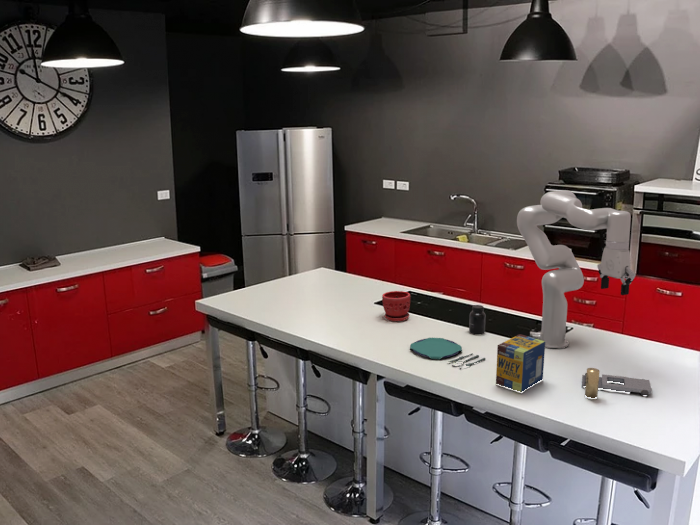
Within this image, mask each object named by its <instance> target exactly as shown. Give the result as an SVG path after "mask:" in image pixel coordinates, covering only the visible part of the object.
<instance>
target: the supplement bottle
mask: <svg viewBox="0 0 700 525" xmlns="http://www.w3.org/2000/svg"><path fill="white" fill-rule="evenodd" d="M484 309H485V308H484V305H480V304H474V305H472V310H471V311H470V313H469V324H468V325H469V326H468V332H469V333H470V334H472V335H475V334H481V335H483V334H485V332H486V318H487V317H486V313H485V312H484Z"/></svg>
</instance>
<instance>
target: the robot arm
mask: <svg viewBox="0 0 700 525" xmlns="http://www.w3.org/2000/svg"><path fill="white" fill-rule="evenodd" d="M539 202H540V204H537V205H536V204H535V205H529V206H528V205H527V206H526V207H523V208H521V209H520V210H519V212H518V213H517V217H516V225H517V228H518V232H519V233H520V235H521V236H522V238H523V239H524V241H525V243H526V245H527V247H528V248H529V252H530V253H531V255H532V258H533V259H534V261H535V265H537V267H538V268H539V269H540V270H543V271H544V270H545V271H546V270H547V271H548V270H549V271H548V272H546V273H544V275H543V276H542V279H541V288H542V302H543V303H542V314H541V316H542V318H541V330H540V331H538V332H536V331H530V332H529V337H532V338H535V339H539V340H542V341H545V349H550V348H562V349H565V348H564V347H566V348H567V346H568V347H569V345H570V344H569V341H568V339H566V330H567V316H568V301H567V298H566V297H565V296H566V295H565V293H568V292H572V291H577V290H579V289H581V288H583V285H584V282H585V279H584V274H583V272H582V269H581V268H580V265H579V263H578V261H577V259H576V258H575V255H574V253H573V252H572V250H571V249H570V248H569V247H568V246H567V245H564V244H557V245H556V244H555V245H553V244H551V241H550V240H549V239H548V236H547V235H546V233H545V232H544V231H543V230H541V229H540V228H539V227H538V226H543V225H551V224H555V223H557V222H558V221H560V220H561V219H562V218H564V219H566V220H567V222H568V223H569V224H570V225H571V226H574V227H576V228H578V229H582V230H585V231H597V230H605V229H606V238H605V239H606V240H605V247H604V248H603V250H602V251H603V252H602V256H601V261H600V263H598V264H597V265H596V267H597V269H598V270H597V271H598V273H599V278H600V289H601V290H605V289H606V290H607V289H609V287H610V286H609V285H610V278H613V279H620V282H621V284H620V296H627V295H628V296H629V294H630V285H631V284H632V282H633V281H634V279H635V277H636V273H635V272H634V271H633V270H632V269H631V253H630V250H629V249H630V235H631V234H630V233H631V232H630V231H631V219H632V218H631V216H632V215H631V213H630V212H629V211H627V210H617V209H614V208H610V207H602V208H594V209H592V208H591V209H587V208H583V204H582V201H581V200H580V199H579V198H577V196H576V195H575V193H573V192H572V191H571V190H568V189H567V190H566V189H565V190H563V189H562V190H555V191H548V192H546V193H545V194H543V195H542V196H541V198H540V201H539Z"/></svg>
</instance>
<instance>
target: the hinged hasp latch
mask: <svg viewBox="0 0 700 525" xmlns="http://www.w3.org/2000/svg"><path fill="white" fill-rule="evenodd" d="M586 375H587V372H585V373H584V374H582V376H581V377H582V378H581V387H582V386H586ZM607 381H613V382H620V383H624V385H619V384H611V383H607ZM651 386H652V385H651V382H650V379H644V378H634V377H627V376H619V375H611V374H604V373H602V374H601V376H599V384H598V388H603V389H611V390H616V391H625V392H630V393H631V392H632V393H640V395H641V394H642V395H648V396H649V395H652V387H651ZM642 395H641V396H642Z"/></svg>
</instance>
